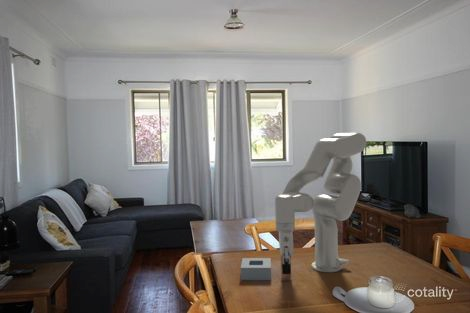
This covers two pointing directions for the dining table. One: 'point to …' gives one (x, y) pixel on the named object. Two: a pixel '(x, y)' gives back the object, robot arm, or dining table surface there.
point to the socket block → (256, 269)
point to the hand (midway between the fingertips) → (286, 270)
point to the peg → (285, 276)
